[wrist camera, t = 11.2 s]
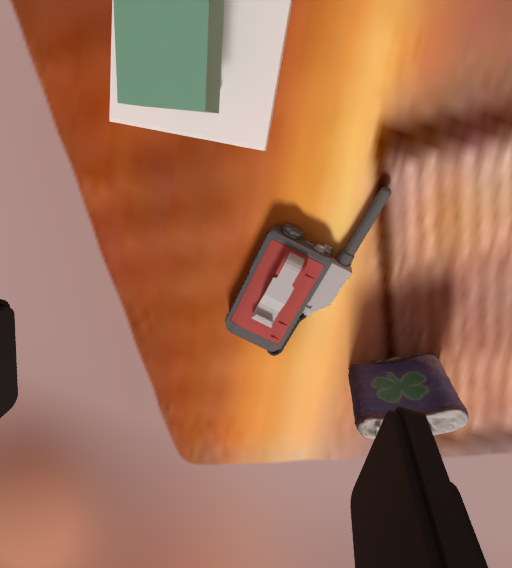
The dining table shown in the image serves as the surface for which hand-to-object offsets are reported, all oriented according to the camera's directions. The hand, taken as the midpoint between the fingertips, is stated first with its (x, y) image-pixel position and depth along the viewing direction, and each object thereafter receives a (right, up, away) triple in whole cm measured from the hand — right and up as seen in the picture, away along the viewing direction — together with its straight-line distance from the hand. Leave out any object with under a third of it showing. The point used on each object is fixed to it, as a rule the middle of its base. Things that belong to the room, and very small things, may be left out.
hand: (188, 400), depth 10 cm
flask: (+16, -6, +32) cm, 36 cm away
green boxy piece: (-3, +22, +17) cm, 29 cm away
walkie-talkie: (+6, +5, +29) cm, 30 cm away
